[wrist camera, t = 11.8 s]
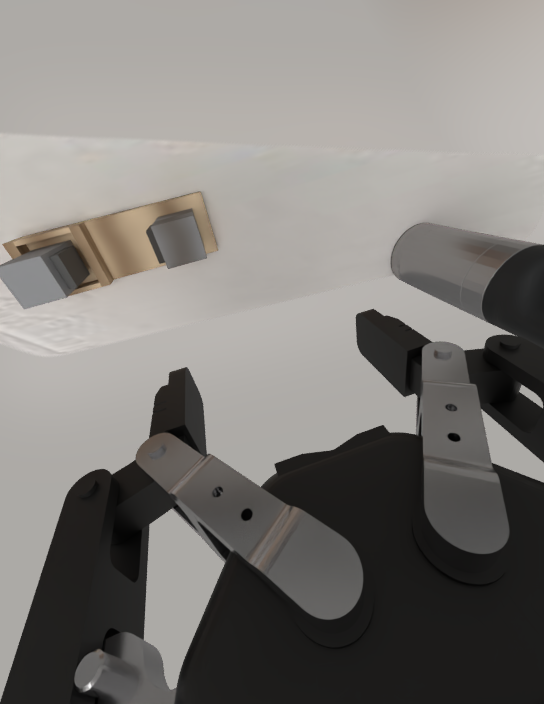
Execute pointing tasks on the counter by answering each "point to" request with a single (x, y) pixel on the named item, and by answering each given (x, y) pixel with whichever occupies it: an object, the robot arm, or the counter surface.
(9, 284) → the block
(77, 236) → the rail
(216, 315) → the counter surface
